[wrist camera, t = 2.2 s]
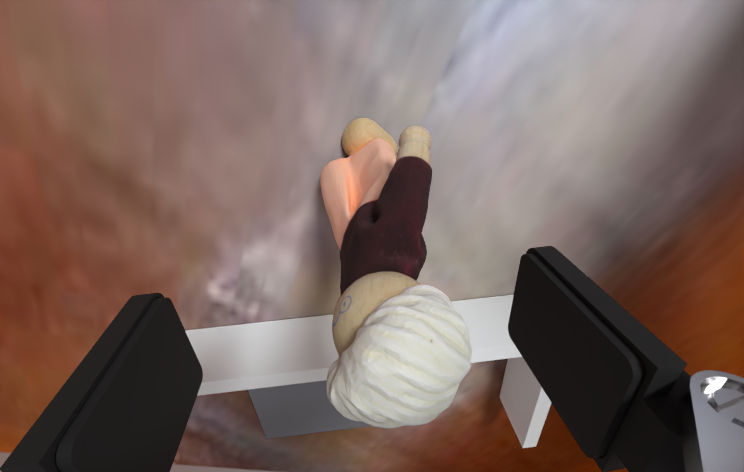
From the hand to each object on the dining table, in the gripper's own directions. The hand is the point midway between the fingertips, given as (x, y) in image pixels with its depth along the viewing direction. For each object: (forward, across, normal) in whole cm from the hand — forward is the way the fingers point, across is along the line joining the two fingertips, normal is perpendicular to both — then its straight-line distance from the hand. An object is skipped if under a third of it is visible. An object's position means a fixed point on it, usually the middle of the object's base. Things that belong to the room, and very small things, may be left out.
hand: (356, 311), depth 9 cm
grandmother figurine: (+9, -1, -1) cm, 9 cm away
